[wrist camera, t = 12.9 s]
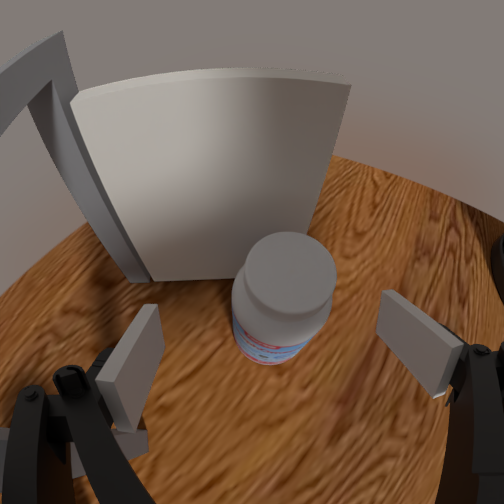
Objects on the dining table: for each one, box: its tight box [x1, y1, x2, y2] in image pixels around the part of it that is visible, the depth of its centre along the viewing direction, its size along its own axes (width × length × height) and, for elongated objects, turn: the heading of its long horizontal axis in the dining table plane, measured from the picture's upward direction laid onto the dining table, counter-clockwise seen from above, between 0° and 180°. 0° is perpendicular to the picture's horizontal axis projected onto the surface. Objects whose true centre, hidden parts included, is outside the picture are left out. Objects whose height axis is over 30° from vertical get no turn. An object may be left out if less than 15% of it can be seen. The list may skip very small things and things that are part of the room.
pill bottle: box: [232, 232, 337, 365], centre depth 18 cm, size 6×6×11 cm
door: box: [70, 68, 351, 281], centre depth 18 cm, size 13×2×18 cm, turn 95°
